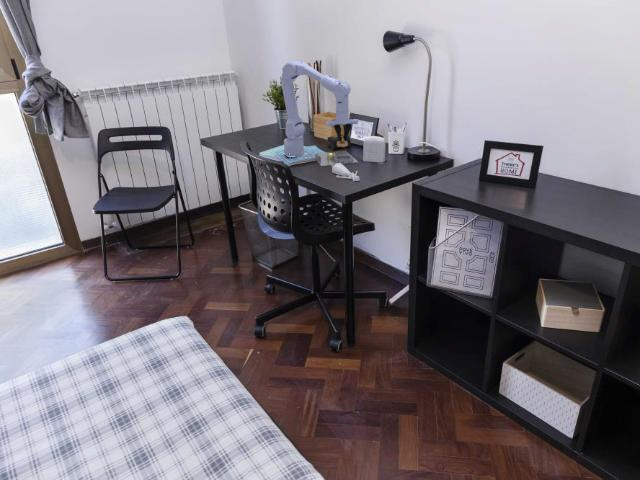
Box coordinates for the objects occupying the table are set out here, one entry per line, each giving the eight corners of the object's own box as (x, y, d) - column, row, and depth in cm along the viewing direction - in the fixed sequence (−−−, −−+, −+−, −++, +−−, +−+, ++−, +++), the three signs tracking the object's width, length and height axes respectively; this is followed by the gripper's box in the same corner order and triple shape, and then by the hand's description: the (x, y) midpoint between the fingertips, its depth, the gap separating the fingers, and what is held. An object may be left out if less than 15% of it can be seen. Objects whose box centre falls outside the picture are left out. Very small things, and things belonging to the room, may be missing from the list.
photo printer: (385, 161, 225) (386, 135, 220) (383, 164, 222) (384, 138, 216) (364, 160, 228) (364, 134, 223) (362, 163, 225) (362, 136, 219)
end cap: (334, 152, 241) (334, 139, 238) (326, 149, 247) (326, 136, 244) (350, 149, 246) (350, 136, 243) (343, 146, 251) (343, 133, 248)
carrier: (321, 167, 219) (321, 159, 218) (310, 155, 237) (310, 148, 235) (358, 164, 223) (358, 155, 222) (345, 152, 241) (345, 144, 239)
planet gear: (338, 147, 222) (338, 139, 220) (335, 144, 227) (335, 135, 225) (348, 146, 223) (348, 138, 221) (345, 143, 228) (346, 134, 226)
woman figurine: (345, 159, 216) (369, 172, 203) (344, 168, 218) (369, 181, 205) (323, 164, 211) (347, 177, 198) (323, 173, 213) (347, 187, 200)
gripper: (329, 114, 212) (329, 144, 218) (360, 111, 216) (360, 141, 222) (325, 111, 219) (325, 140, 225) (355, 108, 222) (355, 137, 228)
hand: (342, 140), depth 224 cm, fingers closed on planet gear, 2 cm apart
